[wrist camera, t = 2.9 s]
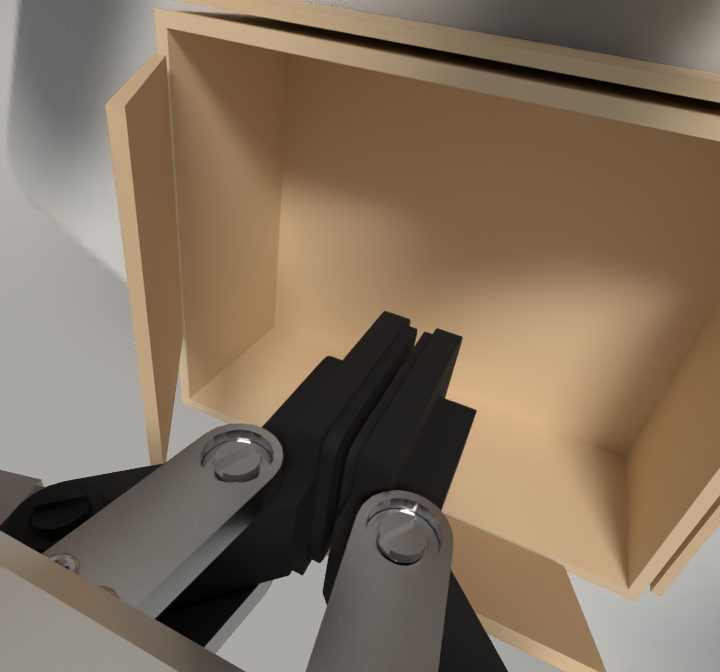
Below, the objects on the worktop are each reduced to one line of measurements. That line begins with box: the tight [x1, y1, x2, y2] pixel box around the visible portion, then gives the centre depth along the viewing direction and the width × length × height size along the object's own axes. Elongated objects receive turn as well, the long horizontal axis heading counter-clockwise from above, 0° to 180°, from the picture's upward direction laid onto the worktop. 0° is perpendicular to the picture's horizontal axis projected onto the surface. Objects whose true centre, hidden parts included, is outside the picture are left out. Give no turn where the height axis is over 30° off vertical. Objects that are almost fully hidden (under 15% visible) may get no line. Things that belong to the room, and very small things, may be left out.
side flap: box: [326, 513, 606, 672], centre depth 15 cm, size 10×1×7 cm
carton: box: [154, 0, 720, 602], centre depth 18 cm, size 19×14×7 cm
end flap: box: [105, 54, 184, 466], centre depth 14 cm, size 1×9×7 cm
